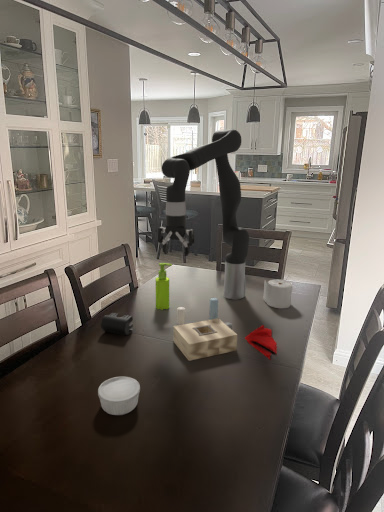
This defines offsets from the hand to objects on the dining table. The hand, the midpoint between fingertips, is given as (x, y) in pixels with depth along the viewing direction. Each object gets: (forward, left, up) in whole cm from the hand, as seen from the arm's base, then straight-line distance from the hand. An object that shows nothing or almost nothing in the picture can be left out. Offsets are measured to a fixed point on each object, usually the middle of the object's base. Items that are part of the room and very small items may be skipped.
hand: (176, 254), depth 148 cm
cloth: (-23, +29, -28) cm, 46 cm away
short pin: (-12, +21, -27) cm, 37 cm away
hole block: (-1, +24, -27) cm, 36 cm away
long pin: (-10, +13, -27) cm, 32 cm away
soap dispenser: (+1, -13, -27) cm, 30 cm away
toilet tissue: (-48, +2, -28) cm, 56 cm away
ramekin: (+34, +44, -28) cm, 62 cm away
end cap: (+25, +3, -28) cm, 37 cm away
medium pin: (+1, +7, -27) cm, 28 cm away
